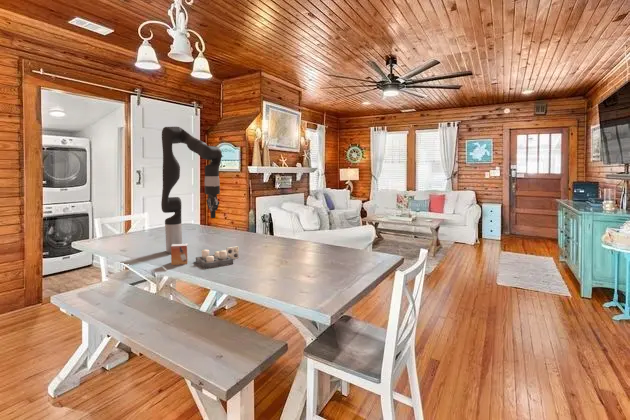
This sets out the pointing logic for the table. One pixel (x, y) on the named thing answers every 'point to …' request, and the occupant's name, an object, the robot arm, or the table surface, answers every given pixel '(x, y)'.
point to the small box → (179, 254)
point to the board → (215, 263)
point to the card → (233, 252)
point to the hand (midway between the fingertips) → (213, 217)
